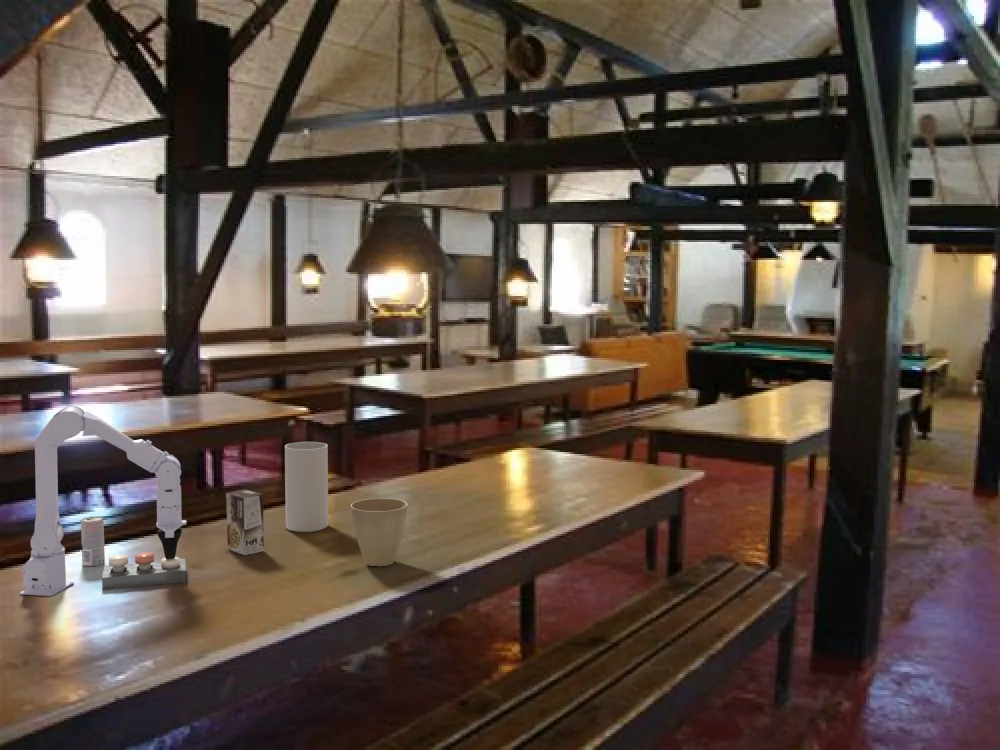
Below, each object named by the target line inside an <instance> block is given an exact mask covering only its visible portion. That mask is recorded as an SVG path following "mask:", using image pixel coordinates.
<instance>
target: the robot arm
mask: <svg viewBox="0 0 1000 750" xmlns="http://www.w3.org/2000/svg"><path fill="white" fill-rule="evenodd" d="M81 432H82V434H81V435H82V437H89V436H90V437H91V436H95V437H99V438H100V439H102V440H104V441H106V442H107V443H109V444H111V445H113V446H115V447H116V448H118V449H120V450H122V451H123V452H126V458H127V459H128V460H129V461H131V462H132V463H134V464H136V465H137V466H138V467H141V468H142V469H144V470H146V471H147V472H149V473H154V474H155V477H156V480H157V486H156V518H157V519H156V527H157V528H158V530H157V537H158V538H159V540H160V542H161V545H162V548H163V554H164V558H166V559H175V557H176V555H177V549H178V543H179V540H180V537H181V535H182V534H183V532H182V526H185V525H187V520H186V519H184V520H183V518H182V485H180V484H181V478H180V477H181V474H182V470H181V463H180V461H179V460H178V458H177V457H175V456H174V454H169V452H168V451H162V450H161V449H159V448H157V447H155V445H152V443H153V442H152V441H150V440H149V439H146V441H145V440H144V439H142V438H141V439H140V438H139V439H136V440H134V439H133V438H130V437H129V436H128V435H127V434H124V433H123V432H121V431H120V430H119V429H117V428H115V427H114V426H112V425H110V424H109V423H107V422H106V421H105V420H103V419H102V418H100V417H98V416H96V415H95V414H93V413H91V412H89V411H84V409H82V408H81V407H78V406H76V405H69V406H66V407H64V408H62V409H60V410H59V411H58V412H56V413H55V414H54V415H53V416H52V417H51V419H50V420H49V421H48V422H47V424H46V425H45V427H44V428H43V429H42V431H41V432H40V433H39V435H38V436H37V437H36V438H35V441H34V460H35V461H34V467H35V475H34V476H35V513H36V515H35V521H34V531H33V534H32V537H31V539H30V548H31V551H30V558H29V560H27V561H26V562H25V564H24V565H23V567H22V577H23V579H22V581H23V590H22V591H20V595H24V596H25V595H28V596H29V595H30V596H40V597H41V596H43V597H45V596H46V597H52V596H54V595H56V594H57V593H59V592H61V591H63V590H64V589H66V588H68V587H70V586H71V585H74V583H75V581H73V580H67V574H66V554H65V553H66V548H65V547H64V546H63V545H62V543H61V541H62V540H63V539H64V535H65V529H64V527H63V525H62V523H61V521H60V520H61V519H60V513H59V491H58V490H59V487H58V485H59V484H58V483H59V482H58V481H59V479H58V478H59V477H58V475H59V474H58V447H59V446H61V445H62V444H63V443H64V442H65V441H67V440H69V439H71V438H74V437H75V436H77V435H79V434H80V433H81Z"/></svg>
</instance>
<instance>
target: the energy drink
mask: <svg viewBox="0 0 1000 750" xmlns="http://www.w3.org/2000/svg"><path fill="white" fill-rule="evenodd" d="M104 527H105V525H104V520H103V517H102V516H87V517H84V518H82V519H81V522H80V529H81V530H80V533H81V537H80V538H81V561H82V565H83V566H84V567H86V566H89V567H88V568H92V567H91V566H95V567H99V565H100V566H102V565H104V564H105V561H106V559H105V557H106V556H105V554H106V553H105V532H104V531H105V528H104ZM103 563H104V564H103Z"/></svg>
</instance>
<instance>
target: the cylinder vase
mask: <svg viewBox="0 0 1000 750" xmlns="http://www.w3.org/2000/svg"><path fill="white" fill-rule="evenodd" d="M328 447H329V445H328V444H327V443H325V442H318V441H299V442H293V443H292V442H291V443H287V444H285V445H284V480H285V483H284V485H285V491H284V492H285V493H284V494H285V527H286V529H287V530H289V531H291V532H295V533H315V532H319V531H323V530H324V529H326V528H327V527H328V525H329V473H328V472H329V463H328V462H329V459H328V458H329V457H328V456H329V455H328V454H329V452H328V451H329V450H328V449H329V448H328Z"/></svg>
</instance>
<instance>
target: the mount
mask: <svg viewBox="0 0 1000 750" xmlns="http://www.w3.org/2000/svg"><path fill="white" fill-rule="evenodd" d="M186 568H187V567H186V558H180V566H178V567H175V568H162V567H161V560H154V562H152V563H151V570H139V564H136V563H135V562H130V563H129V562H128V564H127V565H125V572H116V573H113V566H109V564H105V565H104V567H103V572H102V577H101V588H102V589H101V590H103V591H105V590H104V589H107V590H117V589H116V588H118V589H127V588H128V587H129V588H137V587H139V588H140V587H147V586H148V587H149V586H158V585H159V584H161V585H168V584H167V583H171V584H178V583H177V582H182V583H185V582H184V581H186V582H187V573H186V572H187V571H186V570H187V569H186ZM114 588H115V589H114Z"/></svg>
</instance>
